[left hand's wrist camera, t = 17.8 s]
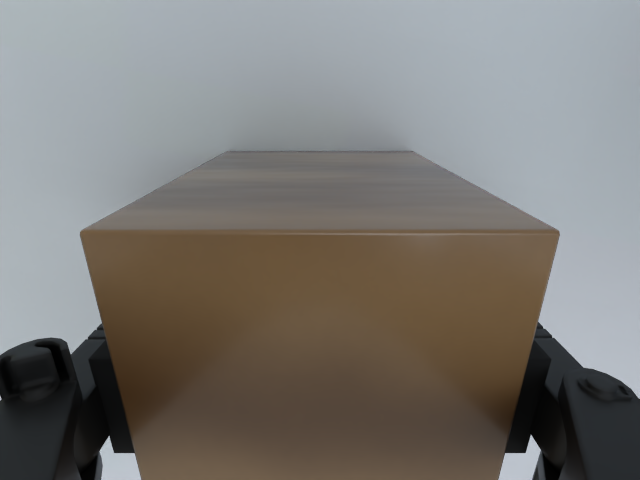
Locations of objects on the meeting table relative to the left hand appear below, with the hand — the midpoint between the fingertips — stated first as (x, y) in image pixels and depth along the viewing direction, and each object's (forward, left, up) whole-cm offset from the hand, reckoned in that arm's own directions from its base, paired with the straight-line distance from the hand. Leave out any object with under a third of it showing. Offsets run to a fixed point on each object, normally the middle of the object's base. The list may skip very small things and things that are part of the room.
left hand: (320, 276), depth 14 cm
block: (0, 0, -3) cm, 3 cm away
